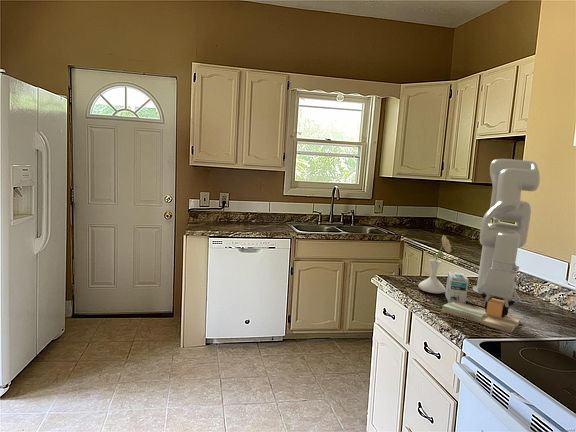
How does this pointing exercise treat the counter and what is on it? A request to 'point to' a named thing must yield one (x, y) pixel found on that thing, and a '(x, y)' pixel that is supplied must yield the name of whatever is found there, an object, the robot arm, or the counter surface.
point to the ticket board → (481, 316)
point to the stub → (495, 307)
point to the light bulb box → (456, 287)
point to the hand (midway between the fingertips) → (495, 313)
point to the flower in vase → (435, 272)
